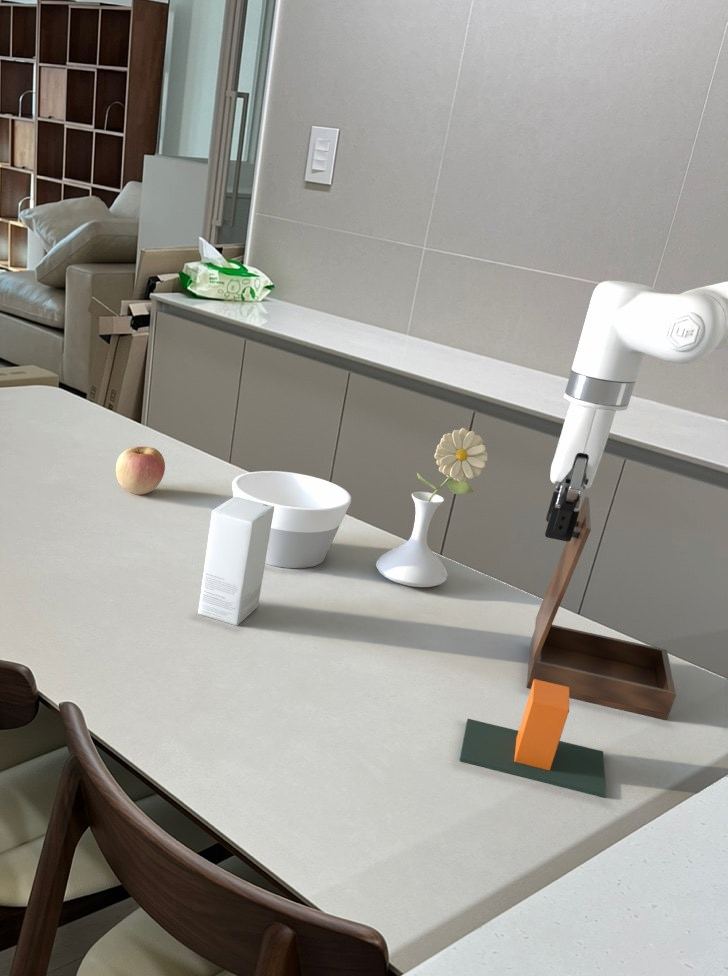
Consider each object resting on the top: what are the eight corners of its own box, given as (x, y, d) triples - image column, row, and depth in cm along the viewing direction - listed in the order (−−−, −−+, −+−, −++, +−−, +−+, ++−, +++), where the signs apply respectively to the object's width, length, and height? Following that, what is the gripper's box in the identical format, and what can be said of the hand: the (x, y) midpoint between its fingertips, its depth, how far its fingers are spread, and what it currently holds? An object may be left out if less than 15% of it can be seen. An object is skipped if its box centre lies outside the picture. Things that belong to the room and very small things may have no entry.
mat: (602, 754, 126) (603, 751, 125) (604, 797, 117) (605, 793, 117) (466, 721, 129) (467, 718, 129) (459, 761, 121) (460, 757, 120)
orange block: (550, 746, 125) (569, 686, 121) (549, 770, 120) (569, 709, 116) (516, 737, 126) (534, 678, 122) (514, 762, 121) (532, 701, 117)
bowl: (360, 573, 170) (372, 509, 165) (250, 576, 163) (260, 510, 158) (309, 530, 185) (320, 470, 180) (207, 532, 179) (215, 470, 174)
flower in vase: (368, 583, 166) (401, 425, 154) (379, 560, 176) (411, 410, 164) (452, 602, 163) (491, 442, 151) (458, 577, 173) (496, 425, 161)
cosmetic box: (220, 596, 155) (234, 494, 148) (261, 608, 153) (277, 505, 146) (195, 615, 148) (209, 508, 141) (238, 627, 146) (254, 520, 139)
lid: (589, 497, 141) (556, 488, 142) (591, 529, 128) (555, 519, 129) (539, 619, 150) (509, 610, 151) (537, 660, 137) (503, 649, 138)
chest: (658, 673, 148) (667, 649, 146) (666, 720, 135) (676, 694, 134) (530, 645, 152) (537, 621, 150) (526, 687, 139) (534, 662, 138)
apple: (166, 489, 197) (171, 446, 194) (154, 502, 190) (158, 459, 186) (122, 481, 199) (125, 439, 195) (108, 494, 191) (111, 450, 187)
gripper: (567, 373, 137) (530, 506, 145) (566, 398, 122) (525, 545, 130) (627, 383, 135) (586, 518, 143) (634, 410, 120) (588, 558, 129)
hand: (557, 529), depth 137 cm, fingers closed on lid, 6 cm apart
